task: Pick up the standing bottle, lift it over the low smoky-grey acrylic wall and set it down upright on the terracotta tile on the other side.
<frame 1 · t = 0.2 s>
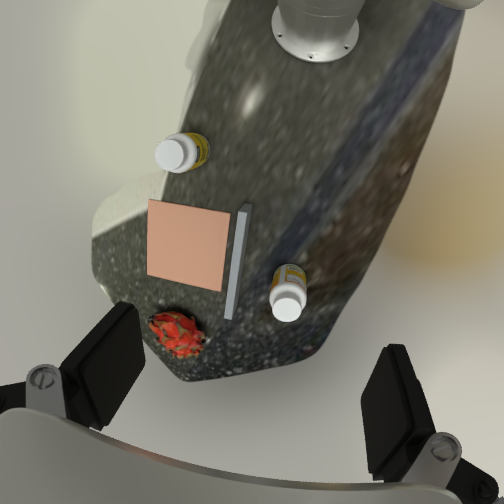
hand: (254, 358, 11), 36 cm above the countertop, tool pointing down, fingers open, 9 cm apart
dragon fruit: (182, 322, 57), on the countertop
low wall: (240, 256, 49), on the countertop
supplement bottle 2: (194, 149, 44), on the countertop
supplement bottle: (289, 277, 50), on the countertop
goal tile: (185, 245, 50), on the countertop
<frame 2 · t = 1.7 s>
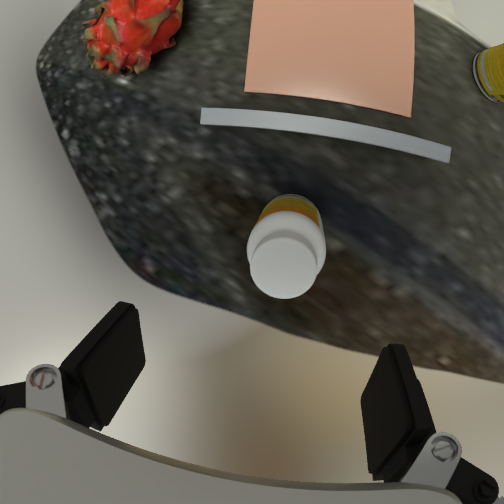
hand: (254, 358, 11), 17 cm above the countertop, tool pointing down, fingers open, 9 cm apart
dragon fruit: (155, 28, 21), on the countertop
low wall: (326, 129, 23), on the countertop
supplement bottle 2: (491, 77, 18), on the countertop
supplement bottle: (291, 222, 27), on the countertop
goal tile: (335, 27, 19), on the countertop
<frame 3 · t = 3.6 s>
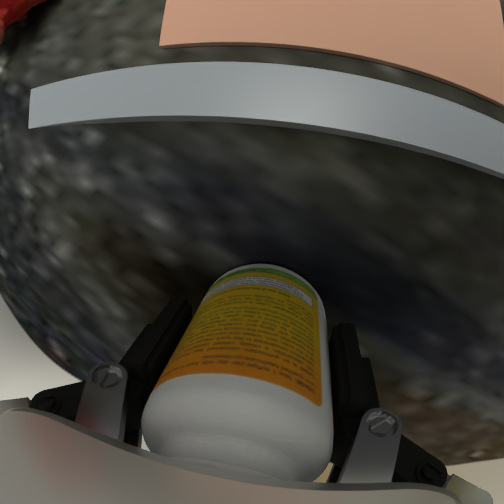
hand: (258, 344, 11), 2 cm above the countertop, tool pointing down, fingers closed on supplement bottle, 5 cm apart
low wall: (343, 119, 10), on the countertop
supplement bottle: (264, 313, 13), on the countertop, touching gripper
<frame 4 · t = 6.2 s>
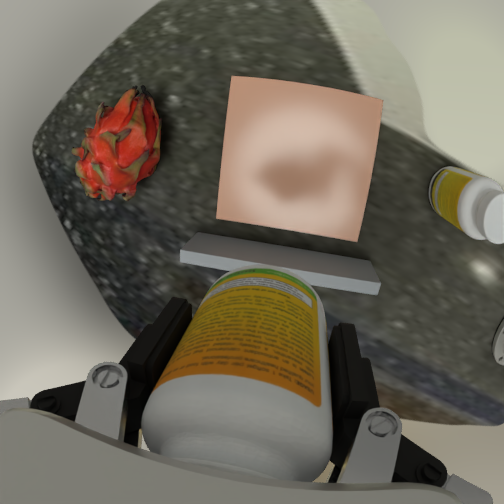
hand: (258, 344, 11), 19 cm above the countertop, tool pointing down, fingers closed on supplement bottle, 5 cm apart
dragon fruit: (138, 141, 29), on the countertop
low wall: (283, 251, 30), on the countertop
supplement bottle 2: (448, 191, 26), on the countertop
supplement bottle: (264, 314, 13), point 17 cm above the countertop, touching gripper
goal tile: (298, 157, 27), on the countertop
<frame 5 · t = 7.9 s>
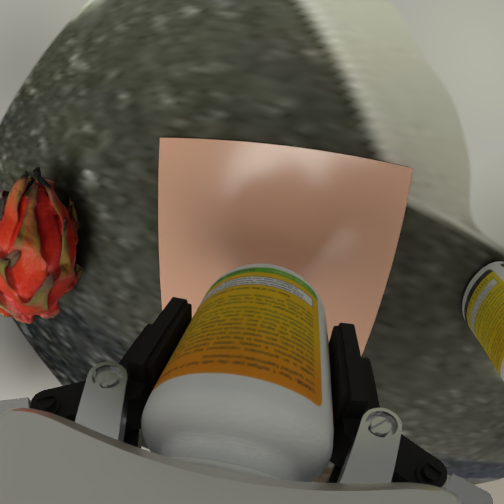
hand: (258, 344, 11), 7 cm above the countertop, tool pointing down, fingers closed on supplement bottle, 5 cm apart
dragon fruit: (59, 232, 20), on the countertop
supplement bottle 2: (487, 292, 17), on the countertop
supplement bottle: (264, 313, 13), point 5 cm above the countertop, touching gripper
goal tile: (272, 265, 18), on the countertop
when the fingers open (4 cm above the countertop, at t = 9.0 s): supplement bottle drops 1 cm, resting on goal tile.
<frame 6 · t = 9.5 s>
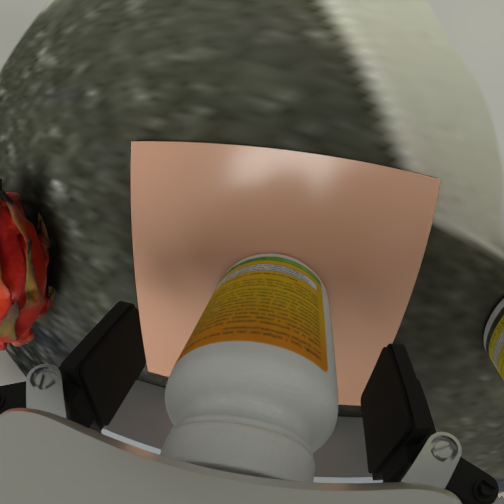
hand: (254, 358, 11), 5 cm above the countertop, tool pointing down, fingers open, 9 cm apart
dragon fruit: (32, 249, 17), on the countertop
low wall: (251, 411, 19), on the countertop
supplement bottle: (272, 300, 15), resting on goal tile
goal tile: (268, 295, 15), on the countertop
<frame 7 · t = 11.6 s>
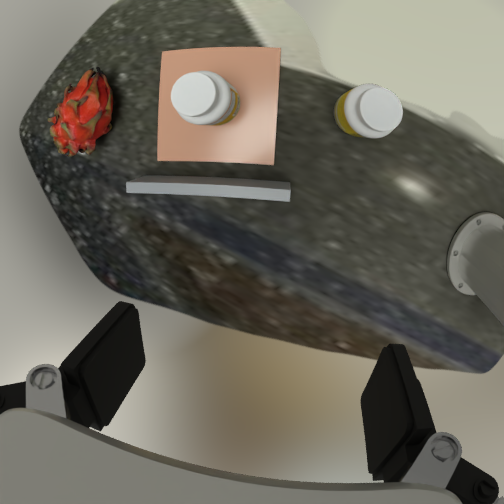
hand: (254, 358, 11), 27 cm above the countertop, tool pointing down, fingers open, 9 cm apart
dragon fruit: (99, 112, 33), on the countertop
low wall: (213, 181, 35), on the countertop
supplement bottle 2: (355, 114, 31), on the countertop
supplement bottle: (217, 103, 31), resting on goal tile
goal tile: (216, 103, 32), on the countertop
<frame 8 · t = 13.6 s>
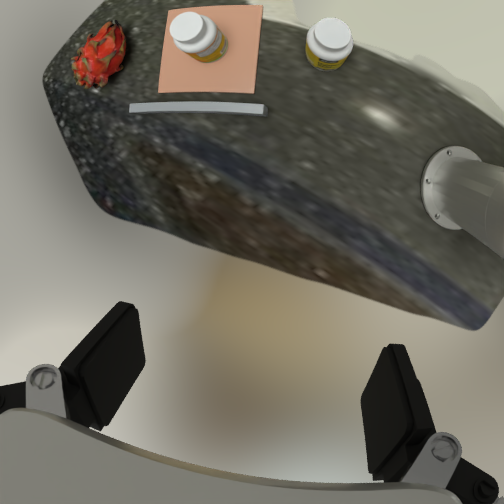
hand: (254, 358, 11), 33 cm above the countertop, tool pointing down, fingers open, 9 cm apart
dragon fruit: (113, 58, 37), on the countertop
low wall: (203, 108, 38), on the countertop
supplement bottle 2: (325, 54, 33), on the countertop
supplement bottle: (210, 47, 35), resting on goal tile
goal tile: (209, 47, 35), on the countertop
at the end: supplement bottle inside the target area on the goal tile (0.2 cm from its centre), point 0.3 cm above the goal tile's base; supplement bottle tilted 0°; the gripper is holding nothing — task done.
